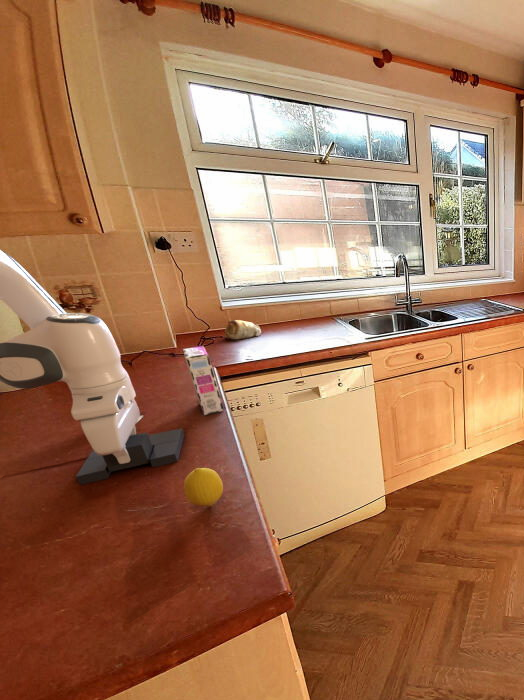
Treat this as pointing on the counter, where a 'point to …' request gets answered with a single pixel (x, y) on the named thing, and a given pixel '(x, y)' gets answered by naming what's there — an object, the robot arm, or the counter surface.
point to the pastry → (241, 330)
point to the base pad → (163, 453)
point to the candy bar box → (203, 380)
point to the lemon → (203, 487)
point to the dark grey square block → (132, 453)
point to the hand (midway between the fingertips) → (129, 453)
